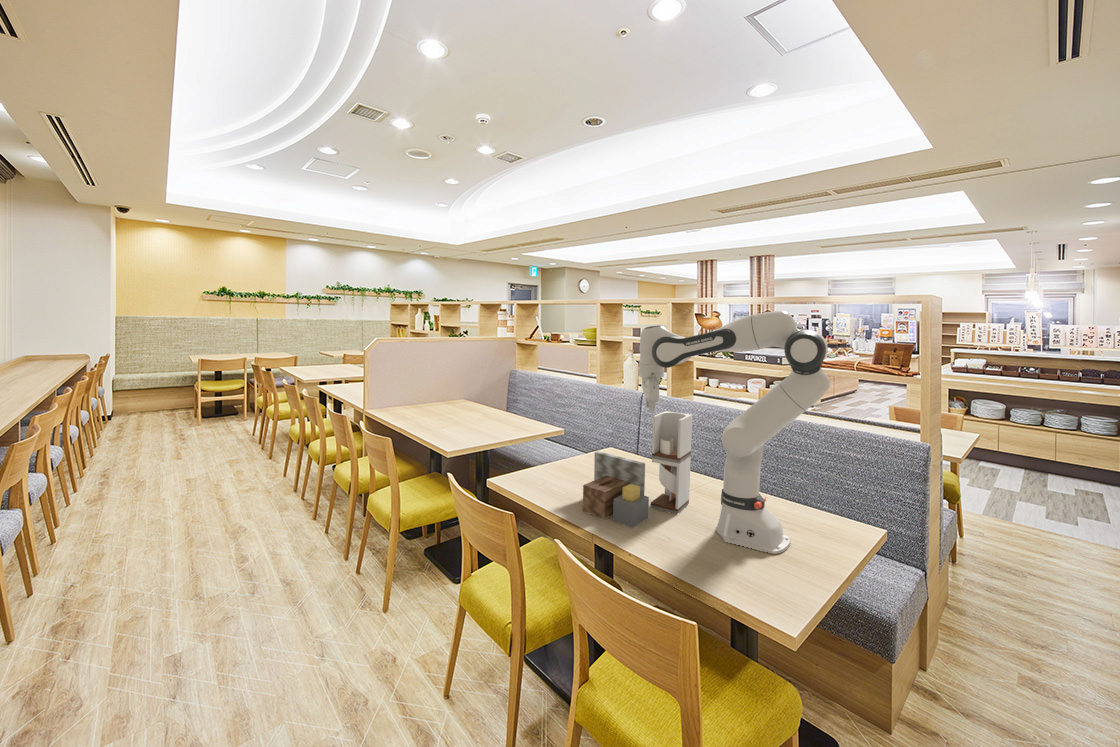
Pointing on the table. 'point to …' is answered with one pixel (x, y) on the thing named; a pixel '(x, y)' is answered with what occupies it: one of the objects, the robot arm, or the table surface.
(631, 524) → the dark gray slotted block
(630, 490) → the yellow tabbed block
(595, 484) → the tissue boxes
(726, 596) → the table surface
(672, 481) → the display case
